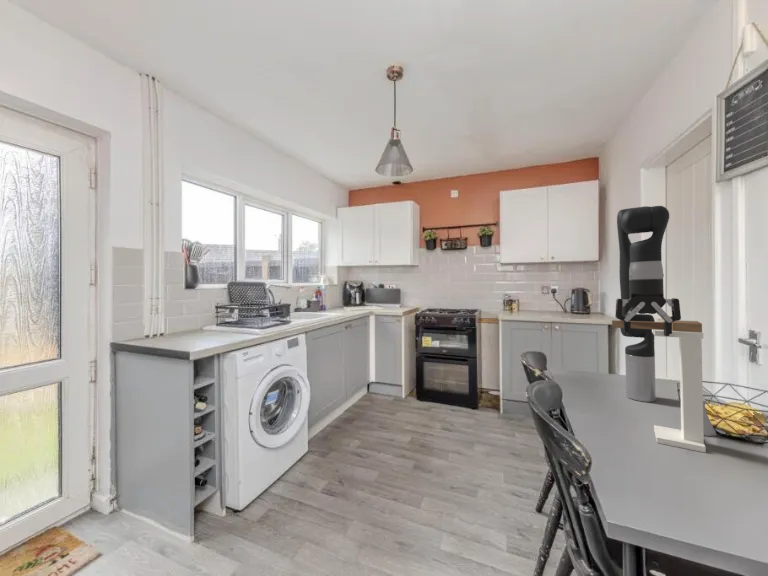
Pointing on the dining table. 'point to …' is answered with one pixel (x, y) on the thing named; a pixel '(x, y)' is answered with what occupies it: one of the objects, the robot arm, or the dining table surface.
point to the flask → (707, 423)
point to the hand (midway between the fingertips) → (647, 335)
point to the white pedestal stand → (687, 395)
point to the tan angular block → (662, 325)
